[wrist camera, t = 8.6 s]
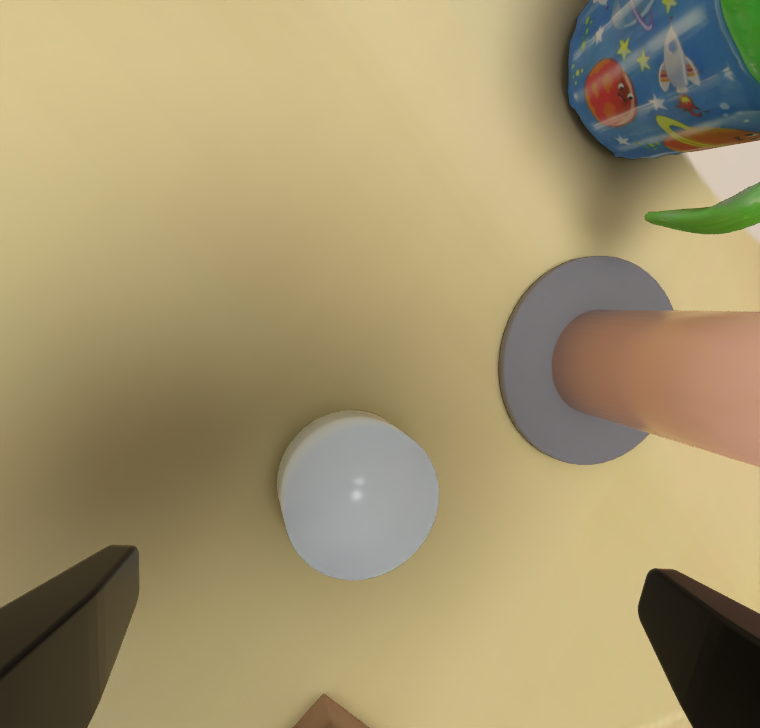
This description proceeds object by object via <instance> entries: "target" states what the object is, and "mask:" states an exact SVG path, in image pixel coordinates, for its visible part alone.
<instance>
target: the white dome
mask: <svg viewBox="0 0 760 728" xmlns="http://www.w3.org/2000/svg"><path fill="white" fill-rule="evenodd" d="M277 493H278V498H279V503H280V506H281V510H282V514H283V518H284V522H285V526H286V530H287V533H288V536H289V538H290V541H291V543H292V545H293V547H294V549H295V550H296V552H297V553H298V554H299V556H300V557H301V558H302V559H303V560H304V561H305V562H306V563H307V564H308V565H309V566H311V567H312V568H314V569H315V570H316V571H318V572H320V573H322V574H324V575H327V576H330V577H333V578H337V579H342V580H364V579H369V578H374V577H377V576H380V575H383V574H385V573H387V572H389V571H391V570H393V569H395V568H396V567H398V566H400V565H401V564H402V563H404V562H405V561H406V560H407V559H409V558H410V557H411V556H412V555H413V554H414V553H415V552H416V551H417V550H418V548H419V547H420V546H421V545H422V543H423V542H424V540H425V539H426V537H427V536H428V534H429V532H430V530H431V528H432V526H433V523H434V520H435V517H436V514H437V509H438V502H439V486H438V479H437V475H436V472H435V469H434V466H433V464H432V462H431V460H430V458H429V457H428V455H427V454H426V452H425V451H424V450H423V449H422V448H421V446H420V445H419V444H417V443H416V442H415V441H414V440H413V439H411V438H410V437H409V436H407V435H406V434H405V433H403V432H402V431H401V430H399V429H398V428H397V427H395V426H394V425H392V424H391V423H390V422H388V421H387V420H385V419H384V418H382V417H380V416H378V415H375V414H373V413H369V412H366V411H359V410H344V411H337V412H333V413H330V414H327V415H324V416H322V417H320V418H318V419H316V420H314V421H313V422H311V423H310V424H308V425H307V426H306V427H304V428H303V429H302V430H301V431H300V432H299V433H298V434H297V435H296V436H295V438H294V439H293V440H292V441H291V443H290V444H289V446H288V447H287V449H286V451H285V453H284V455H283V457H282V460H281V463H280V466H279V470H278V475H277Z"/></svg>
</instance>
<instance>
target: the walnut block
mask: <svg viewBox="0 0 760 728" xmlns="http://www.w3.org/2000/svg"><path fill="white" fill-rule="evenodd" d="M293 728H369V727H368V726H366V725H365V724H364V723H362V722H361V721H360V720H358V719H357V718H356V717H354V716H353V715H352V714H350V713H349V712H348V711H346V710H345V709H344V708H342V707H341V706H340V705H338V704H337V703H336V702H334V701H333V700H332V699H330V698H329V697H328V696H326V695H325V694H323V695H322V696H321V697H320V699H319V700H318V701H317V702H316V703H315V704H314V705H313V706H312V707H311V708H310V710H309V711H308V712H307V713H306V714H305V715H304V716H303V717H302V718H301V720H300V721H299V722H298V723H297V724H296V725H295V726H294V727H293Z"/></svg>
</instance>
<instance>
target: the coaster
mask: <svg viewBox="0 0 760 728" xmlns="http://www.w3.org/2000/svg"><path fill="white" fill-rule="evenodd" d="M591 310H663V311H674V310H673V308H672V305H671V303H670V301H669V299H668V297H667V296H666V294H665V292H664V290H663V289H662V288H661V287H660V285H659V284H658V283H657V281H656V280H655V279H654V278H653V277H651V276H650V275H649V274H648V273H647V272H646V271H644V270H643V269H642V268H640V267H639V266H637V265H635V264H633V263H631V262H629V261H626V260H623V259H620V258H615V257H609V256H593V257H586V258H580V259H574V260H571V261H568V262H565V263H562V264H560V265H559V266H557V267H555V268H553V269H551V270H549V271H548V272H547V273H545V274H544V275H542V276H541V277H540V278H539V279H538V280H537V281H536V282H534V283H533V284H532V285H531V286H530V288H529V289H528V290H527V291H526V292H525V293H524V295H523V296H522V297H521V299H520V300H519V302H518V304H517V305H516V307H515V308H514V310H513V312H512V314H511V316H510V318H509V320H508V323H507V326H506V329H505V332H504V335H503V339H502V344H501V348H500V357H499V380H500V388H501V393H502V397H503V401H504V404H505V407H506V409H507V412H508V414H509V416H510V418H511V420H512V422H513V424H514V425H515V427H516V428H517V430H518V431H519V432H520V434H521V435H522V436H523V437H524V438H525V439H526V440H527V441H528V442H529V443H530V444H531V445H533V446H534V447H535V448H537V449H538V450H540V451H541V452H543V453H545V454H547V455H549V456H551V457H553V458H555V459H558V460H561V461H564V462H567V463H571V464H578V465H592V464H598V463H603V462H607V461H610V460H613V459H615V458H617V457H619V456H622V455H624V454H625V453H627V452H628V451H630V450H632V449H633V448H634V447H636V446H637V445H638V444H639V443H640V442H642V441H643V440H644V439H645V438H646V437H647V436H648V435H649V434H650V433H647V432H643V431H640V430H637V429H634V428H630V427H627V426H624V425H621V424H617V423H614V422H611V421H607V420H604V419H601V418H598V417H594V416H591V415H588V414H585V413H581V412H579V411H576V410H574V409H573V408H571V407H570V406H568V405H567V404H566V403H565V402H564V401H563V399H562V398H561V397H560V395H559V394H558V392H557V390H556V387H555V384H554V381H553V376H552V357H553V352H554V348H555V345H556V343H557V340H558V338H559V336H560V335H561V333H562V331H563V330H564V329H565V327H566V326H567V325H568V324H569V323H570V322H571V321H572V320H573V319H574V318H576V317H577V316H579V315H581V314H583V313H585V312H588V311H591Z"/></svg>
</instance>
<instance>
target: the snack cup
mask: <svg viewBox="0 0 760 728" xmlns="http://www.w3.org/2000/svg"><path fill="white" fill-rule="evenodd" d="M568 67H569V84H568V90H567V91H568V95H569V103H570V106H571V107H572V108H574V109H575V110H576V112H577V113H578V115H579V116H580V119H581V121H582V122H583V123H584V125H585V127H586V128H587V129H588V131H589V132H590V133H591V134H592V135H593V136H594V137H595V138H596V139H597V140H598V141H599V142H600V143H601V144H602V145H603V146H605V147H606V148H607V149H608V150H610V151H612V152H613V153H614V155H615V157H625V158H628V159H638V158H658V157H660V156H664V155H677V154H680V153H684V152H693V151H700V150H705V149H712V148H717V147H722V146H729V145H734V144H740V143H746V142H752V141H758V140H760V0H590V1H589V3H588V4H587V5H586V6H585V8H584V9H583V10H582V12H581V13H580V15H579V16H578V18H577V24H576V28H575V31H574V33H573V36H572V38H571V40H570V50H569V59H568ZM645 220H646V221H648V222H650V223H652V224H655V225H660V226H664V227H668V228H672V229H676V230H681V231H686V232H691V233H699V234H723V233H730V232H732V231H737V230H741V229H744V228H746V227H749V226H752V225H755V224H757V223H760V182H759V183H757V184H755V185H753V186H750V187H748V188H746V189H744V190H743V191H742V192H739V193H738V194H736V195H734V196H732V197H730V198H728V199H726V200H724V201H722V202H720V203H718V204H716V205H714V206H712V207H705V208H694V209H680V210H669V211H659V212H648V213H646V215H645Z"/></svg>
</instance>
